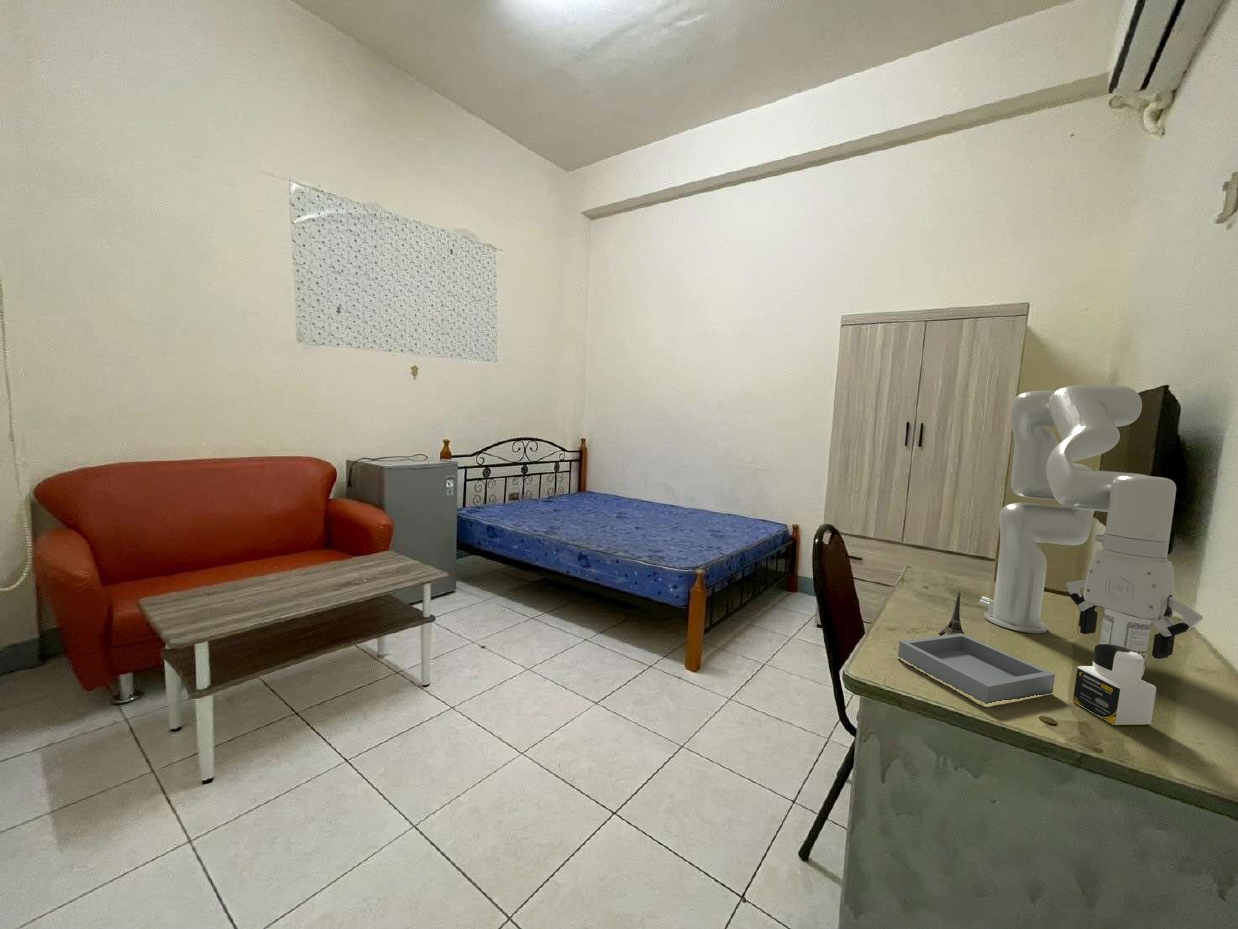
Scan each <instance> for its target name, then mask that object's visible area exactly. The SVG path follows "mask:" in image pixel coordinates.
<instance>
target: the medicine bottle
mask: <svg viewBox="0 0 1238 929" xmlns="http://www.w3.org/2000/svg"><path fill="white" fill-rule="evenodd" d="M1143 665H1144V658H1143V657H1142V656H1141V655H1139V654H1138V653H1136V652H1134V651H1132V650H1130V649H1127V648H1124V647H1121V646H1117V645H1111V644H1097V645H1095V646H1094V652H1093V658H1092V665H1079V666H1077V669H1076V674H1075V680H1074V689H1073V690H1074V691H1073V696H1072V703H1073V702H1075V703H1077V704H1078V705H1081V706H1083V707H1084V708H1086V709H1087V710H1089V711H1091V712H1093V713H1094V714H1095V715H1099V716H1100V717H1101V718H1103V719H1105V720H1106V721H1109V722H1111V723H1114V724H1151V725H1152V718H1153V713H1154V707H1155V700H1156V693H1157V687H1156V686H1155V685H1153V684H1152V683H1149V682H1147V681H1145V680H1142V677H1143V676H1142V672H1143ZM1078 705H1077V706H1078ZM1087 710H1086V711H1087ZM1094 714H1093V715H1094ZM1095 715H1094V716H1095ZM1101 718H1100V719H1101ZM1106 721H1105V722H1106Z"/></svg>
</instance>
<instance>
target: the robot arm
mask: <svg viewBox="0 0 1238 929" xmlns="http://www.w3.org/2000/svg"><path fill="white" fill-rule="evenodd" d="M1142 409H1143V401H1142V397H1141V396H1140V395H1139V393H1138V392H1137V391H1136V390H1135V389H1133V388H1132V387H1129V386H1126V385H1102V384H1101V385H1099V384H1095V385H1093V384H1078V385H1077V384H1074V385H1069V386H1065V387H1062V388H1061V387H1060V388H1059V389H1057V390H1031V391H1025V392H1023V393H1020V394H1019V395H1017V396H1016V397H1015V398H1014V399H1013V401H1012V403H1011V406H1010V411H1009V420H1010V428H1011V430H1012V434H1013V439H1014V450H1013V458H1012V467H1011V477H1010V478H1011V479H1010V487H1011V490H1012V492H1013V493H1014V495H1017V496H1019V497H1023V498H1029V499H1036V500H1037V499H1039V500H1051V501H1056V502H1057V503H1058V504H1060V505H1053V504H1052V505H1051V504H1050V505H1049V504H1044V503H1043V504H1041V503H1031V502H1013V503H1009V504H1006V505H1004V507H1002V508H1001V510H1000V511H999V516H998V517H999V518H998V523H999V538H1000V539H999V542H1000V543H999V553H998V564H997V572H996V579H995V580H996V581H995V588H994V595H993V599H991V598H989V597H987V596H981V597H980V600H979V601H978V604H979V605H981V606H984V607H987V610H986V611H984V615H983V616H984V618H985V619H986V620H987V621H988V622H991V623H992V624H995V625H996V626H999V627H1002V628H1006V629H1009V630H1012V631H1018V632H1022V633H1027V634H1028V633H1029V634H1044V633H1046V632H1047V631H1048V625H1046V624H1045V623H1044V622H1042V621H1041V613H1042V606H1043V598H1044V591H1045V584H1046V578H1047V577H1046V576H1047V575H1046V574H1047V568H1048V561H1047V557H1046V555H1045V554H1044V552H1043V551H1042V550H1041V549H1040V547H1039V546H1038V544H1037V543H1043V544H1044V543H1046V544H1047V543H1048V544H1056V545H1063V546H1079V545H1083V544H1084V543H1086V542H1087V540H1088V539H1089V537H1090V533H1091V531H1092V524H1093V517H1094V516H1093V514H1094V512H1105V513H1106V512H1107V516H1106V523H1105V531H1104V532H1103V534H1100V533H1097V534H1095V536H1094V540H1095V542H1099V543H1100V544H1101V547H1102V548H1101V549H1099V548H1098V549H1096V550H1095V553H1094V555H1093V557H1092V559H1091V562H1090V564H1089V568H1088V571H1087V576H1086V578H1085V579H1079V580H1073V581H1067V582H1066V583H1065V586H1066V588H1067V590H1068V593H1069V594H1070V599H1071V600H1072V601H1073V602H1074V604H1075V605H1076V608H1077V610H1078V611H1080V613H1079V618H1078V619H1079V621H1078V626H1079V627H1080V629H1079V632H1080V634H1083V635H1088V634H1095V633H1096V631H1097V630H1096V629H1097V624H1098V622H1097V621H1098V611H1097V610H1096V609H1097V608H1102V609H1104V610H1105V609H1108V610H1111V611H1115V612H1118V613H1122V614H1125V615H1129V616H1132V617H1136V618H1139V619H1143V620H1151V622H1152V625H1154V626H1155V628H1156V630H1157V631H1158V633H1155V634H1154V637H1153V646H1152V652H1151V656H1152V657H1153V658H1154V659H1157V660H1161V659H1166V658H1168V657H1169V656H1172V655H1173V652H1174V646H1175V639H1176V636H1179V635H1180V634H1184V633H1186V632H1189V631H1191V630H1193V628H1194V627H1196V626H1197V625H1198V624H1199V623H1200V622H1201V621H1203V619H1204V618H1203V616H1202V614H1200V613H1198V612H1197V611H1195V610H1193V609H1192V608H1191V607H1189V606H1187V605H1186V604H1184V603H1182V602H1181V601H1179V600H1178V599H1176V598H1175V596H1176V595H1175V594H1176V593H1175V592H1176V586H1175V583H1176V582H1175V573H1174V568H1173V563H1172V561H1170V560H1168V552H1169V544H1170V539H1171V532H1172V531H1171V530H1172V525H1173V524H1172V523H1173V516H1174V509H1175V501H1176V495H1177V494H1176V493H1177V485H1176V483H1175V482H1174V480H1172V479H1170V478H1166V477H1161V476H1153V475H1152V476H1151V475H1147V474H1142V473H1134V472H1121V471H1109V470H1108V471H1107V470H1093V469H1091V467H1089V466H1087V465H1085V464H1080V463H1074V462H1078V461H1082V460H1085V459H1089V458H1092V457H1096V456H1100V455H1102V454H1104V453H1105V454H1106V453H1107V452H1108V451H1110V450H1112V449H1113V448H1114V447H1115V446H1116V445H1117V444H1118V443H1119V442H1120V438H1121V435H1120V430H1119V428H1118V427H1124V426H1128V425H1131V424H1132V423H1134V422H1136V421H1137V420H1138V419H1139V417H1140V415H1141V413H1142ZM1049 427H1055V428H1056V431H1057V432H1058V435H1059V438H1060V440H1061V441H1060V442H1059V440H1058V438H1057V437H1056V435H1055V433H1053V431H1051V429H1050V428H1049ZM1081 588H1083V589H1084V590H1083V593H1082V592H1081ZM1174 611H1175V612H1176V613H1178V614H1179V615H1181V616H1182V617H1183V619H1182V620H1181V621H1180V622H1178V623H1174V622H1173V621H1172V619H1171V618H1172V617H1173V614H1174Z"/></svg>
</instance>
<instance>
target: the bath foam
mask: <svg viewBox="0 0 1238 929" xmlns="http://www.w3.org/2000/svg"><path fill="white" fill-rule="evenodd" d="M1152 625H1153V623H1152V622H1151V620H1143V619H1139V618H1136V617H1132V616H1129V615H1125V614H1122V613H1118V612H1115V611H1111V610H1108V609H1104V611H1103V617H1102V624H1101V631H1100V636H1099V637H1100V638H1099V644H1111V645H1117V646H1121V647H1124V648H1127V649H1130V650H1132V651H1134V652H1136V653H1138V654H1139V655H1141V656H1142V657H1143V658H1144V665H1143V672H1142V677H1143V676H1144V674H1145V669H1146V668H1145V667H1146V662H1147V657H1148V650H1149V642H1150V638H1151V637H1150V636H1151V631H1152ZM1099 644H1098V645H1099Z"/></svg>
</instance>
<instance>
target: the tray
mask: <svg viewBox="0 0 1238 929" xmlns="http://www.w3.org/2000/svg"><path fill="white" fill-rule="evenodd" d="M964 634H965V633H964ZM964 634H962V633H959V634H951V635H948V634H946V635H945V634H944V635H943V636H935V635H934V636H929V637H920V638H915V639H913V638H912V639H907V640H906V639H905V640H900V641H899V643H898V644H899V645H898V652H897V653H898V654H897V657H898V656H899V657H900V658H903V659H904V660H906V661H907V662H909V663H910V664H913V665H914V666H916V667H917V668H919V669H922V670H923V671H925V672H926V673H928V674H930V675H933V676H934V677H936V678H937V679H940V680H942V681H943V682H945V683H947V684H950V685H952V686H953V687H955V688H956V689H959V690H961V691H963V692H964V693H966V694H968V695H971V696H973V697H974V698H975V699H977V700H980V701H982V702H984V703H985V704H988V703H992V702H996V701H1002V700H1012V699H1020V698H1025V697H1030V696H1034V695H1036V696H1037V695H1045V694H1050V693H1053V692H1054V686H1055V678H1056V673H1054V672H1051V671H1048V670H1046V669H1044V668H1042V667H1040V666H1037V665H1035V664H1032V663H1030V662H1028V661H1026V660H1023V659H1022V658H1019V657H1016V656H1014V655H1012V654H1010V653H1007V652H1005V651H1003V650H1000V649H998V648H996V647H993V646H991V645H988V644H987V643H986V642H984V643H982V642H980V641H981V640H980V641H978V640H979V639H978V640H975V639H976V638H975V639H973V638H974V637H973V638H971V637H972V636H971V637H968V636H966V635H967V634H966V635H964Z"/></svg>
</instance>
